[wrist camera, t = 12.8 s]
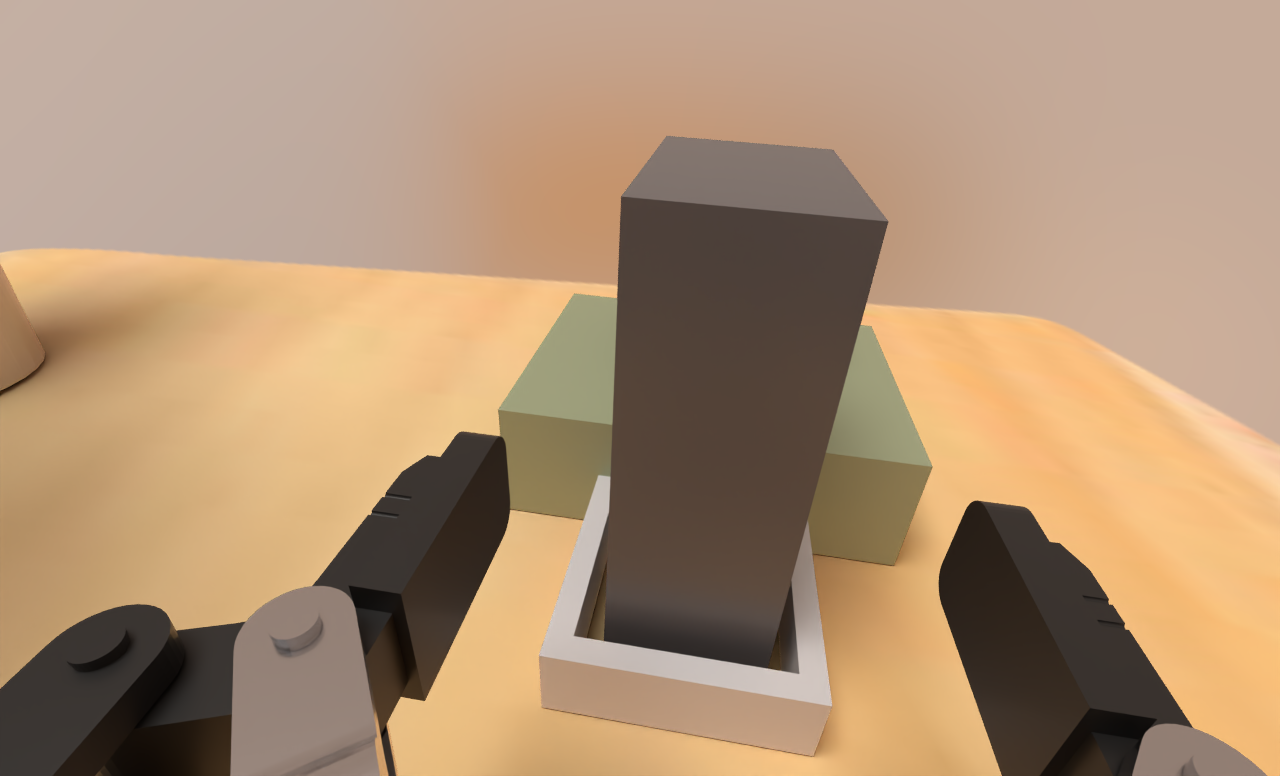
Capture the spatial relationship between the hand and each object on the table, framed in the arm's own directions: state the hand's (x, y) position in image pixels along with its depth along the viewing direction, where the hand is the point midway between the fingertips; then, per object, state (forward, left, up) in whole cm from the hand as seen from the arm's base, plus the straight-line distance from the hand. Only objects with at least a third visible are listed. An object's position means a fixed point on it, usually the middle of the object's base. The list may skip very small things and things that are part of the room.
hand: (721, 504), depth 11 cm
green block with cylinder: (-9, +8, -11) cm, 16 cm away
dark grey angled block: (-5, +5, -11) cm, 13 cm away
